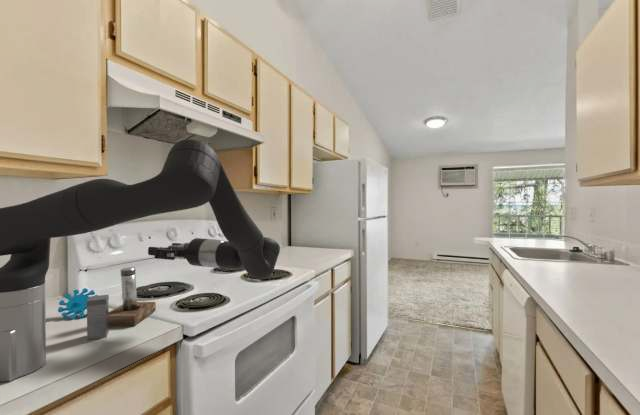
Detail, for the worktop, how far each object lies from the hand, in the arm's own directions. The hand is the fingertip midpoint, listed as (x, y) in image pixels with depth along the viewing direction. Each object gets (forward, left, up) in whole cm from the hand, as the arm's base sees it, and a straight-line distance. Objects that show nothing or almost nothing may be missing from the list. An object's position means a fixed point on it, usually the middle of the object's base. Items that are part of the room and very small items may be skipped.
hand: (161, 248), depth 89 cm
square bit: (-8, +12, -21) cm, 26 cm away
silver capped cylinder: (+4, +11, -20) cm, 23 cm away
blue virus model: (+7, +28, -22) cm, 36 cm away
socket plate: (+4, +11, -21) cm, 24 cm away
